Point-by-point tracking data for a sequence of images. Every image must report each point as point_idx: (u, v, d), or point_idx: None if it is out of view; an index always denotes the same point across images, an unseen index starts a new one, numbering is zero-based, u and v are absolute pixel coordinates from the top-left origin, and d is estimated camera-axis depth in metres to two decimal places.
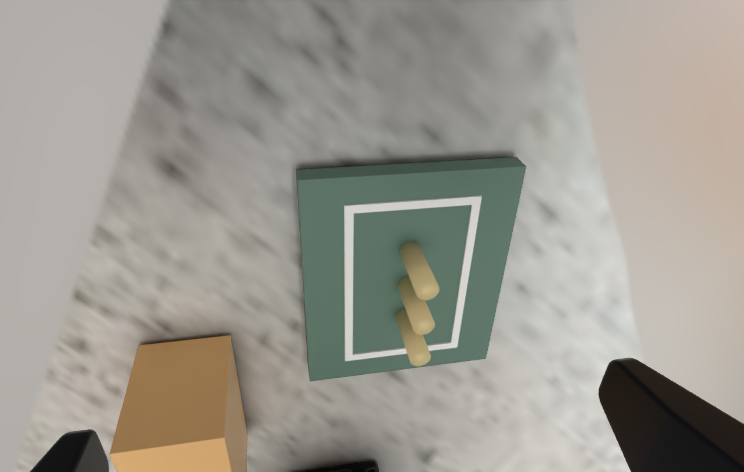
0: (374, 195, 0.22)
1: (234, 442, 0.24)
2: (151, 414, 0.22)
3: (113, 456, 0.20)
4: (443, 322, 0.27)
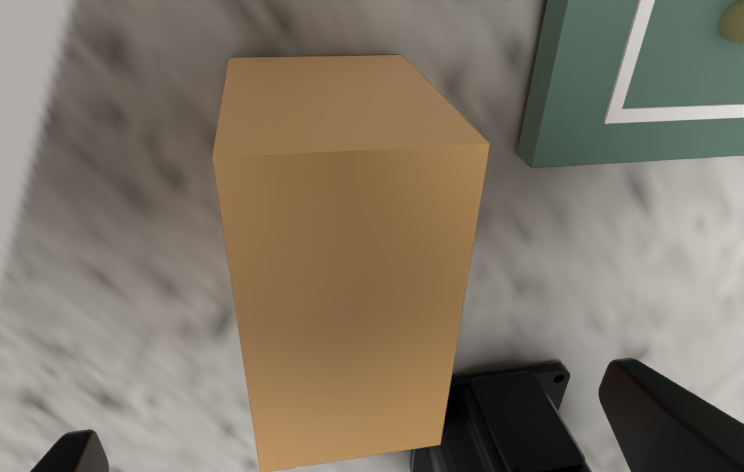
0: None
1: None
2: (293, 116, 0.09)
3: (220, 168, 0.08)
4: None
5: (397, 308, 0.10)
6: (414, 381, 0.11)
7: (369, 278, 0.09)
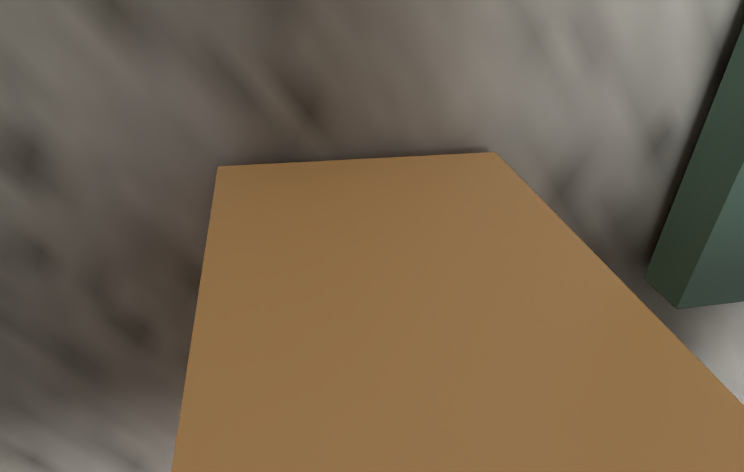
0: None
1: None
2: (346, 377, 0.04)
3: None
4: None
5: None
6: None
7: None
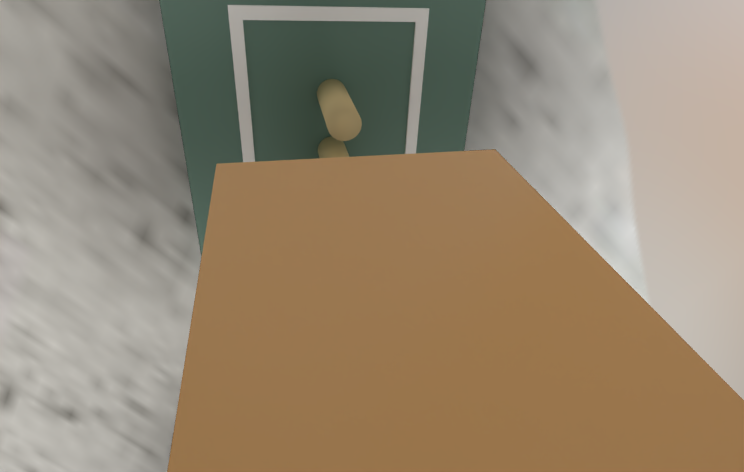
0: None
1: None
2: (344, 373, 0.04)
3: None
4: None
5: None
6: None
7: None
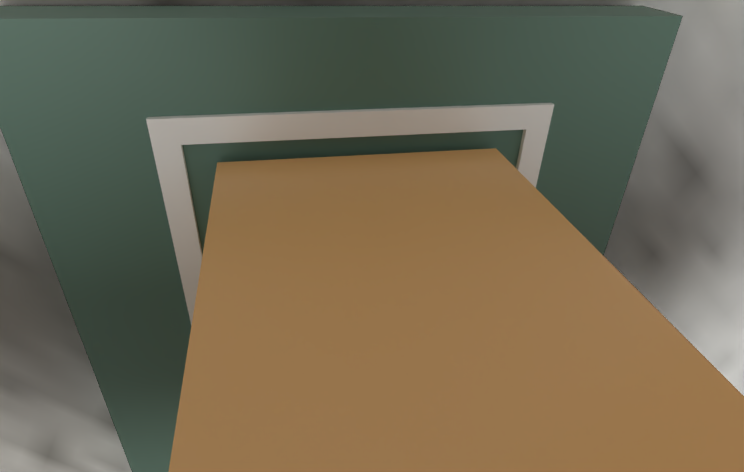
0: (239, 88, 0.07)
1: None
2: (346, 371, 0.04)
3: None
4: None
5: None
6: None
7: None
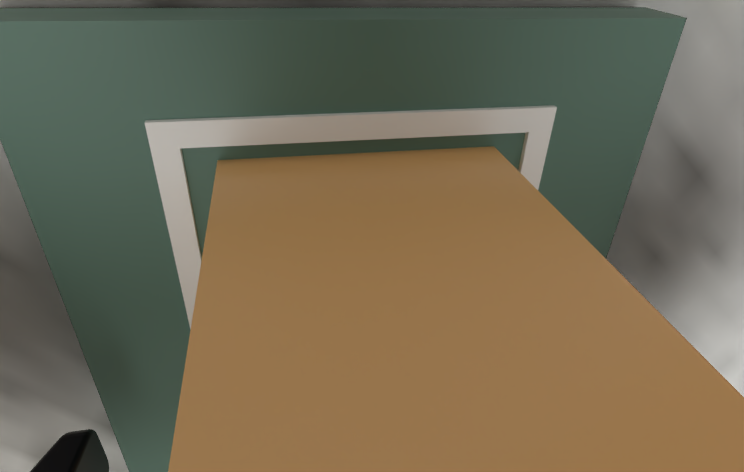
0: (239, 91, 0.07)
1: None
2: (344, 365, 0.04)
3: None
4: None
5: None
6: None
7: None
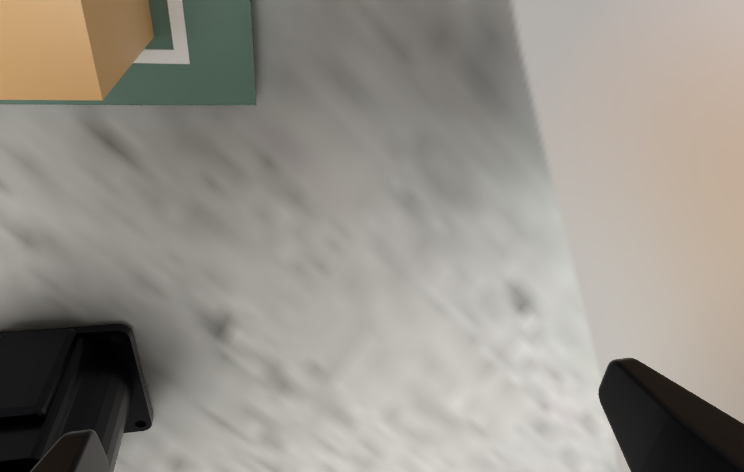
0: None
1: None
2: None
3: None
4: None
5: None
6: None
7: None
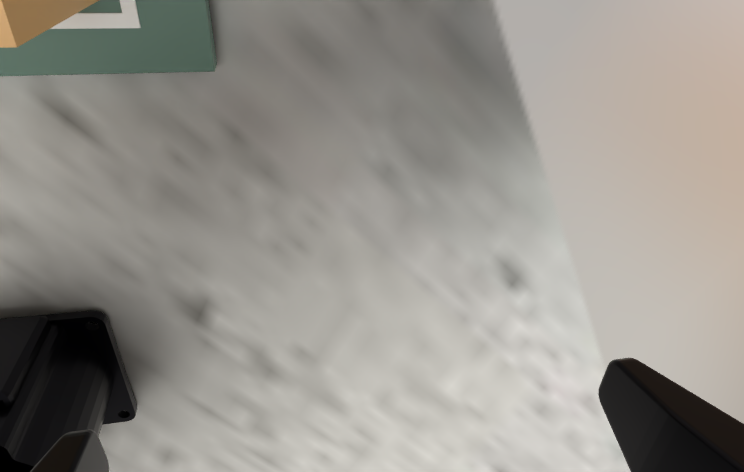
0: None
1: None
2: None
3: None
4: None
5: None
6: None
7: None
